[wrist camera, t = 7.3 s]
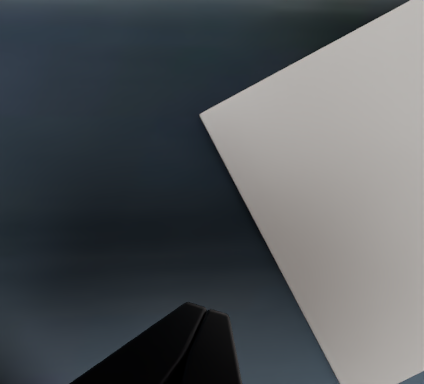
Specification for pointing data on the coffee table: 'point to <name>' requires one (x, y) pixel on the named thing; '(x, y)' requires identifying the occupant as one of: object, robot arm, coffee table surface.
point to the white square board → (342, 190)
